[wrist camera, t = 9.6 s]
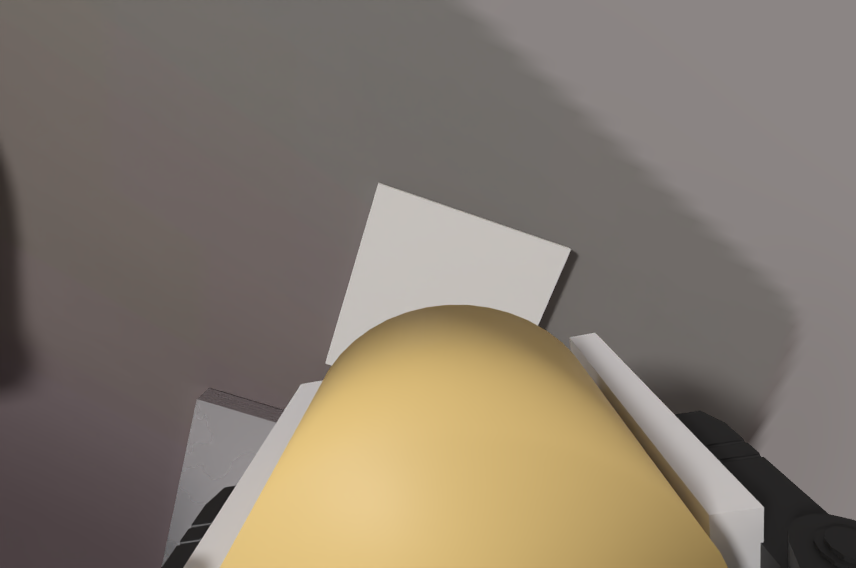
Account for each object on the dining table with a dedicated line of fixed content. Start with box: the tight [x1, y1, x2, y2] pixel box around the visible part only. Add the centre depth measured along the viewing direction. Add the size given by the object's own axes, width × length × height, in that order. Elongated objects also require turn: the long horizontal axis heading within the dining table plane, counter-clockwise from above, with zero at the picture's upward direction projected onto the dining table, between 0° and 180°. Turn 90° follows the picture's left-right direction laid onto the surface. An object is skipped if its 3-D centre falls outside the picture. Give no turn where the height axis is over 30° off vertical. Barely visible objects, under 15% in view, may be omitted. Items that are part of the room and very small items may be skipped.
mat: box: [326, 183, 571, 365], centre depth 22 cm, size 10×10×1 cm
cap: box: [220, 305, 728, 568], centre depth 8 cm, size 8×8×6 cm
